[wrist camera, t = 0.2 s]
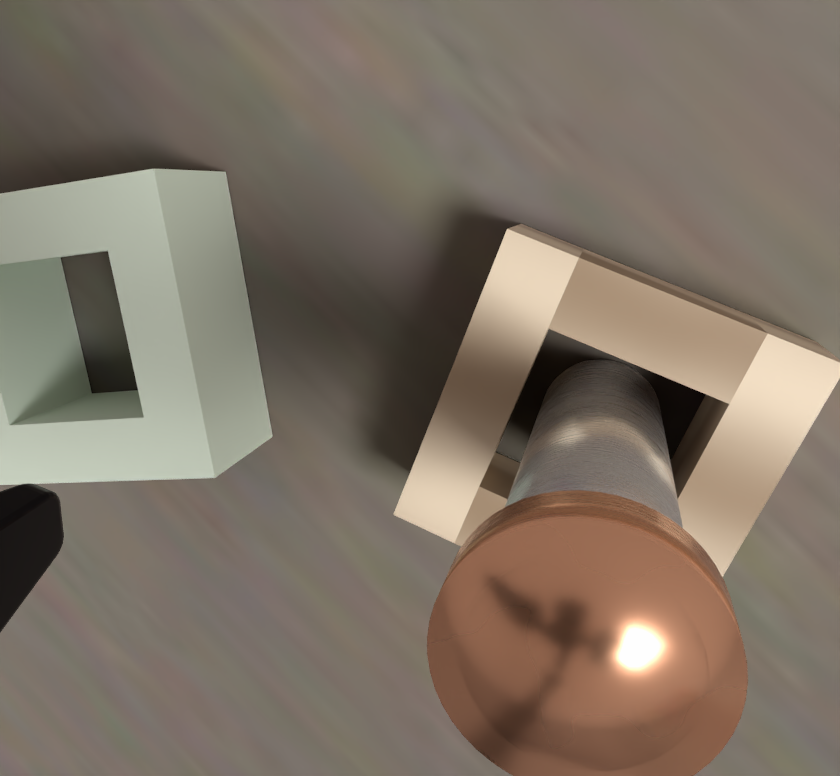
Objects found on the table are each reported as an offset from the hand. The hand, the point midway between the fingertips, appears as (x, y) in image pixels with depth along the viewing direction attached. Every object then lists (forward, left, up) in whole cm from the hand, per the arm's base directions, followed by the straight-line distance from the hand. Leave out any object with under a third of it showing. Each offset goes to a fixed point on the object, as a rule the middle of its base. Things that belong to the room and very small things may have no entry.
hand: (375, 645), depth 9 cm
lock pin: (+1, -3, -15) cm, 16 cm away
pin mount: (+1, -3, -15) cm, 16 cm away
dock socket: (-11, +8, -15) cm, 21 cm away
